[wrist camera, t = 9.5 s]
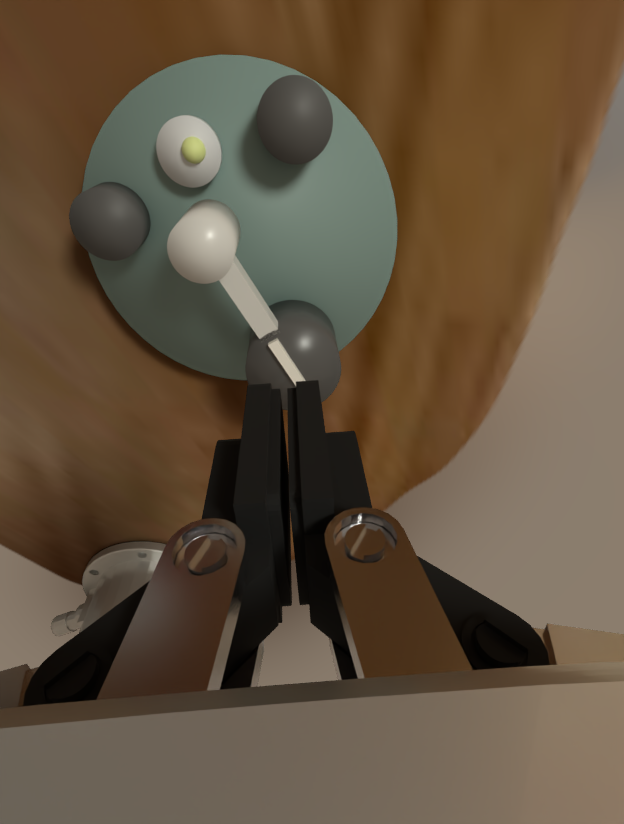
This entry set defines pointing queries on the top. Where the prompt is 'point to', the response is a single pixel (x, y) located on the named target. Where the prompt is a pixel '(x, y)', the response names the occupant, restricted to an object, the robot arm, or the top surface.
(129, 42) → the top surface
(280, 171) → the instrument base
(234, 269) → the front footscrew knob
